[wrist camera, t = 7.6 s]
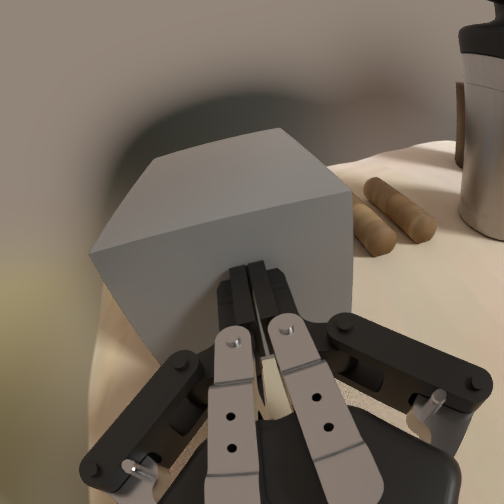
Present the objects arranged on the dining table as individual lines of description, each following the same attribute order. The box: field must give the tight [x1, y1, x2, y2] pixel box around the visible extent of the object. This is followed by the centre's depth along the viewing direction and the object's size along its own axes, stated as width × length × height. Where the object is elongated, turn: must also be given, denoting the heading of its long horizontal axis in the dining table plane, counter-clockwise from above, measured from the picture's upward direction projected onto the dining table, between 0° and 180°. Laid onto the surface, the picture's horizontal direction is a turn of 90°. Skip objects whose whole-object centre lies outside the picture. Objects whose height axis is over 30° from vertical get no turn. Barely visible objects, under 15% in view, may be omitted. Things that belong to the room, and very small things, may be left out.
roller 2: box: [364, 177, 436, 244], centre depth 26 cm, size 3×10×3 cm
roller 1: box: [352, 193, 397, 257], centre depth 26 cm, size 3×10×3 cm
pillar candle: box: [455, 82, 465, 168], centre depth 30 cm, size 10×10×15 cm
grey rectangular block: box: [89, 128, 353, 366], centre depth 21 cm, size 12×16×10 cm
